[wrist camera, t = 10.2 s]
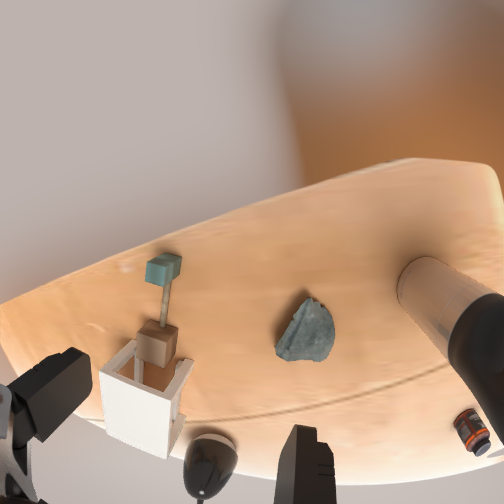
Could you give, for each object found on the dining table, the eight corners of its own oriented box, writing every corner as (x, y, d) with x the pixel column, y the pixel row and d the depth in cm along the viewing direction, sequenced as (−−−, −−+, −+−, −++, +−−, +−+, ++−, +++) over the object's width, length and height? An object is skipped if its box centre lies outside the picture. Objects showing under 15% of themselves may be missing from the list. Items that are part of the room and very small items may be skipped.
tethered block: (188, 259, 43) (173, 269, 37) (175, 353, 46) (161, 371, 41) (158, 251, 43) (140, 259, 37) (148, 343, 47) (133, 360, 41)
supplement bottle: (451, 431, 44) (467, 464, 33) (455, 413, 43) (475, 447, 32) (472, 421, 42) (490, 452, 31) (477, 404, 42) (498, 435, 31)
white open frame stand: (194, 361, 46) (171, 400, 36) (185, 421, 50) (166, 459, 39) (132, 339, 47) (99, 370, 37) (131, 400, 51) (106, 433, 40)
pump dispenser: (193, 450, 52) (172, 501, 37) (192, 421, 50) (166, 476, 35) (238, 460, 51) (225, 514, 36) (243, 431, 49) (228, 491, 34)
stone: (348, 298, 42) (288, 287, 40) (359, 312, 39) (296, 302, 36) (321, 353, 46) (264, 346, 43) (328, 368, 42) (269, 363, 40)
